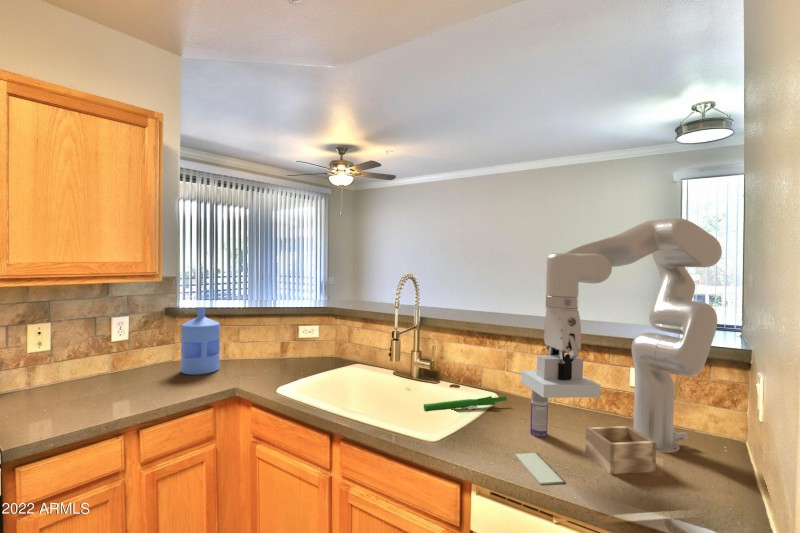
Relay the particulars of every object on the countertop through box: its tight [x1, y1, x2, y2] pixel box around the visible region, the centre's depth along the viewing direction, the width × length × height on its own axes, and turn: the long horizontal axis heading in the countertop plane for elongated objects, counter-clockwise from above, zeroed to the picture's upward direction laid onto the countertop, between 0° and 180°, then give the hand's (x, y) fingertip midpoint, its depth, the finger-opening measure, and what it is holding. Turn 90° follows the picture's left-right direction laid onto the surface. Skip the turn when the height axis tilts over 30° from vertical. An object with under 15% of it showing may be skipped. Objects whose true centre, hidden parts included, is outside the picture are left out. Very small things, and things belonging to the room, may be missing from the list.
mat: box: [514, 452, 567, 485], centre depth 102 cm, size 16×14×1 cm
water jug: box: [180, 307, 221, 376], centre depth 182 cm, size 16×16×28 cm
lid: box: [520, 354, 602, 399], centre depth 102 cm, size 14×12×8 cm
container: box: [529, 389, 549, 439], centre depth 119 cm, size 5×5×15 cm
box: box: [584, 425, 657, 475], centre depth 103 cm, size 12×10×8 cm
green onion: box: [423, 395, 507, 413], centre depth 142 cm, size 5×3×30 cm
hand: (559, 376), depth 102 cm, fingers closed on lid, 4 cm apart
